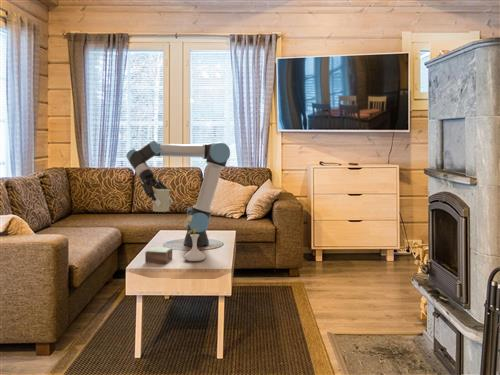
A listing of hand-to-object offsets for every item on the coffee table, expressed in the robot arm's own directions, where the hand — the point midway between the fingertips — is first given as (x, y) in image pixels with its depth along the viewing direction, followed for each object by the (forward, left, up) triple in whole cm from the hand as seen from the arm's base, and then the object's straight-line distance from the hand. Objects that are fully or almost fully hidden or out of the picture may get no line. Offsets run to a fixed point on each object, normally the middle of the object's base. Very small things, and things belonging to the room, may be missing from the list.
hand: (165, 203), depth 274 cm
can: (0, -3, -4) cm, 5 cm away
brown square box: (+12, +6, -29) cm, 32 cm away
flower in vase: (+1, +20, -29) cm, 35 cm away
